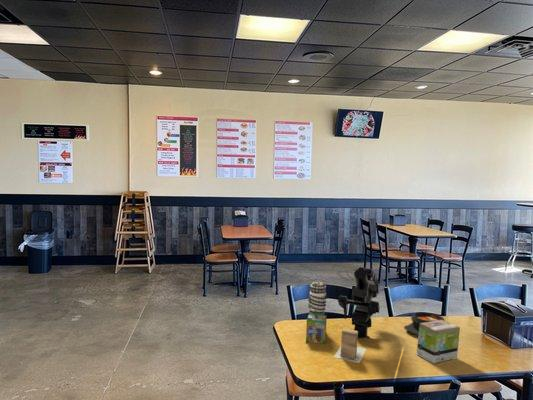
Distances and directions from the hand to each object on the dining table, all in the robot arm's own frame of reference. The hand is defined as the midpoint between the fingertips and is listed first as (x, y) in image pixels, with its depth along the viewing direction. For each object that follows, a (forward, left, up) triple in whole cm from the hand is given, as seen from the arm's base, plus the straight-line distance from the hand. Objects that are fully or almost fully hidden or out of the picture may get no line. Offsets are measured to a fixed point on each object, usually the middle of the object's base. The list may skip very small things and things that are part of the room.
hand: (355, 320), depth 181 cm
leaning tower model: (-1, -24, -14) cm, 28 cm away
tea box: (-27, +26, -14) cm, 39 cm away
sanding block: (+9, +5, -13) cm, 16 cm away
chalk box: (+7, -16, -14) cm, 23 cm away
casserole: (-51, +8, -14) cm, 53 cm away
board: (+6, +3, -14) cm, 15 cm away
